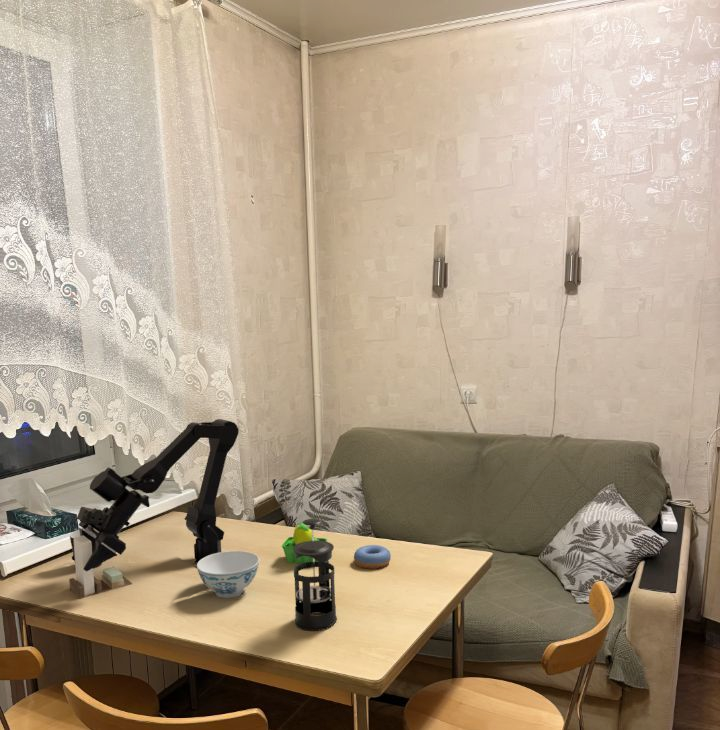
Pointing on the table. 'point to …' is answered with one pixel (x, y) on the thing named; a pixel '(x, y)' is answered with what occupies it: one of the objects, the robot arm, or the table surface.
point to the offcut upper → (112, 574)
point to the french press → (314, 596)
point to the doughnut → (372, 556)
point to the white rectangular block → (83, 564)
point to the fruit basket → (300, 535)
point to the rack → (98, 586)
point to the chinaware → (228, 572)
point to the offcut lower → (113, 584)
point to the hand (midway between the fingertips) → (78, 565)
